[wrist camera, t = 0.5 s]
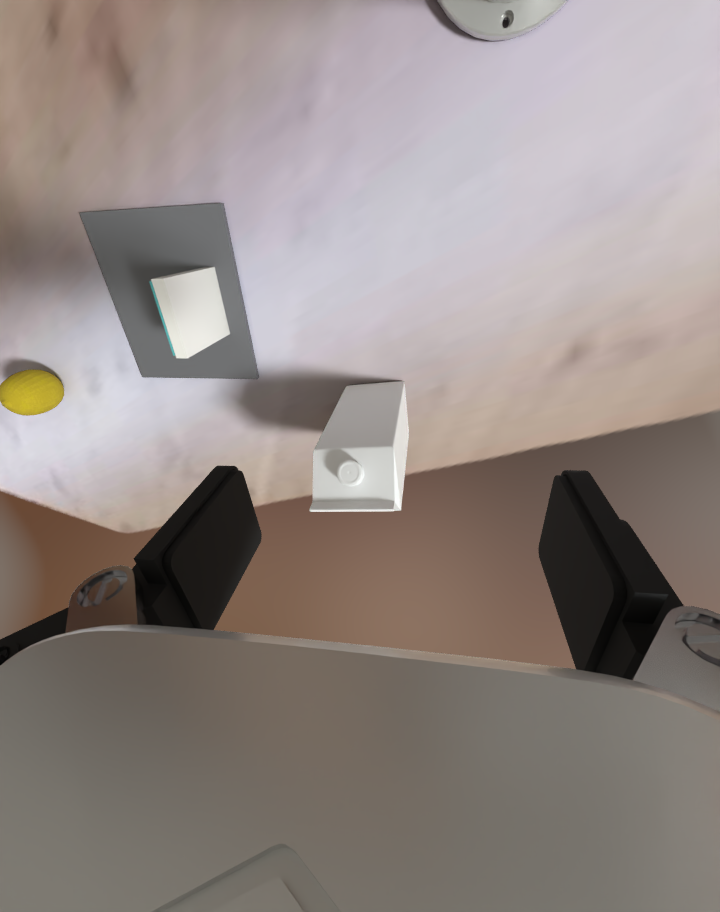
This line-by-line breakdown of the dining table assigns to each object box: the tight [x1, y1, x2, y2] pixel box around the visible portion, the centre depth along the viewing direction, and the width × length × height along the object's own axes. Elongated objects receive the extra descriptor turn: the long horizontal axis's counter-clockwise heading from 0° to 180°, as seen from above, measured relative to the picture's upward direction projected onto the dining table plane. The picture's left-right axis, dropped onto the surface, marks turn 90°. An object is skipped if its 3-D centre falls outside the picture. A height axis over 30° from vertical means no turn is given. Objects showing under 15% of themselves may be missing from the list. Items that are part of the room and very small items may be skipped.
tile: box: [149, 267, 230, 358], centre depth 37 cm, size 7×2×9 cm, turn 3°
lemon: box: [0, 370, 64, 415], centre depth 48 cm, size 6×6×8 cm
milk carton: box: [310, 381, 409, 512], centre depth 38 cm, size 7×7×19 cm
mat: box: [80, 203, 259, 379], centre depth 42 cm, size 18×16×1 cm
